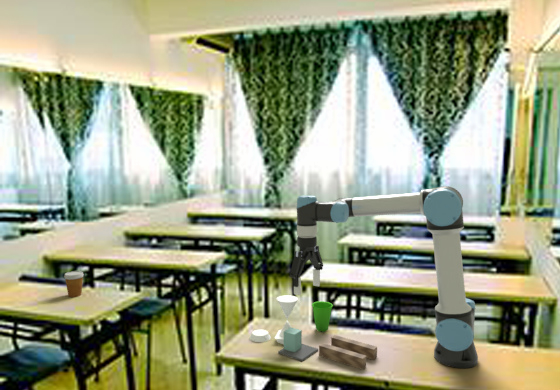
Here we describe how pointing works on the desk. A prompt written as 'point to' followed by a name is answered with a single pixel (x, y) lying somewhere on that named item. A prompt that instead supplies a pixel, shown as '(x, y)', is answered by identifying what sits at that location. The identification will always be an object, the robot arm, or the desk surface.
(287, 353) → the rubber mat
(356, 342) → the parallel wooden bars
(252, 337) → the hourglass
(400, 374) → the desk surface
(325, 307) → the cup
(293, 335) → the teal block
